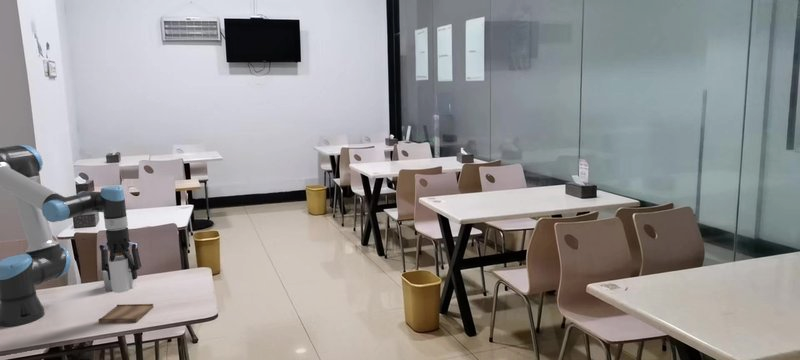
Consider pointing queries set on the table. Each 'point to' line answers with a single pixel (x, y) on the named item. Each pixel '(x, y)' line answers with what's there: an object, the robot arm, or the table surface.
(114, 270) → the mug
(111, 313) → the wooden coaster
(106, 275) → the toilet tissue
